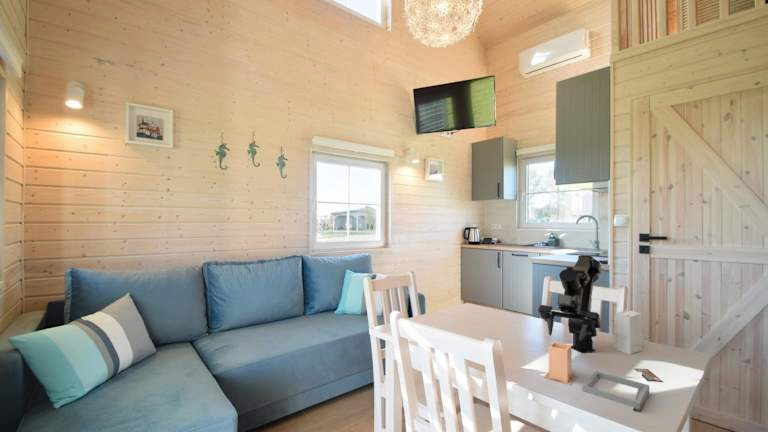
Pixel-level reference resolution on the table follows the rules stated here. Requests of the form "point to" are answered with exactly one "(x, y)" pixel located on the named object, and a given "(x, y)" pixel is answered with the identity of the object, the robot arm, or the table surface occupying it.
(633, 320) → the skincare box
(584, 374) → the table surface
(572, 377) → the stake block
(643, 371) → the chocolate bar
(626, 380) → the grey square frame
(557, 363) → the sleeve
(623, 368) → the table surface
